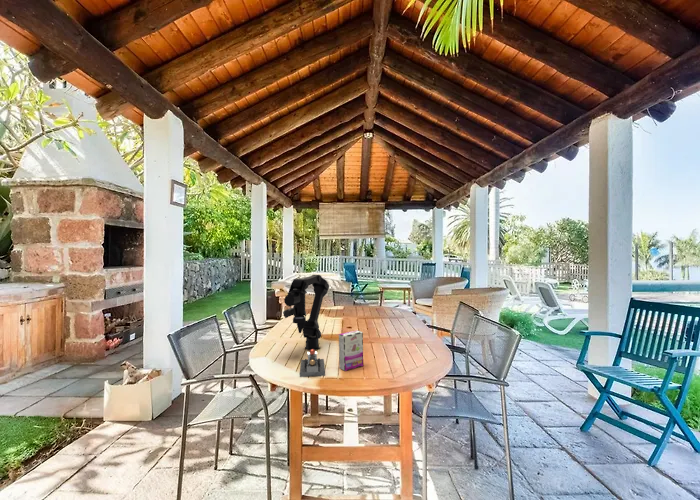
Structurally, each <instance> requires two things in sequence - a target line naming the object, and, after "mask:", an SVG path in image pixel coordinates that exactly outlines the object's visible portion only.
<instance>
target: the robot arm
mask: <svg viewBox="0 0 700 500" xmlns="http://www.w3.org/2000/svg"><path fill="white" fill-rule="evenodd" d="M309 286H312V287H313V292H314V298H313V302H312V306H311V310H310V313H309V318H308V319H306V316H307V311H306V294H307V293H308V291H307V289H309ZM329 288H330V284H329V282H328V281H327V280H326V279H325V278H324V277H323V276H322V275H320V274H312V275H310V276H307V277H305V278H294V279H292V282H291V285H290V286H289V289H288V292H287V295H285V297H284V299H283V302H284V304H285V306H287V307H290V308H288V309H284V310H283V312H282V314H283V316H284V318H285V319H287V318H290V317H291V316H293V318H292V324H296V325H297V330H298V333H299V334H301V333H302V335H303V338H304V339H305V338H306V339H305V346H304V349H306V350H309V351H310V350H311V349H314V350H315V351H316V350H319V349H321V346H319V345H320V343H319V342H320V340H319V339H321V338H322V332H321V330H320V325H319V322H318V320H319V316H320V312H321V309H322V304H323V300H324V297H325V296H326V295H327V293H328V290H329ZM292 306H293V307H292Z"/></svg>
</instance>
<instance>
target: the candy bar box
mask: <svg viewBox="0 0 700 500" xmlns="http://www.w3.org/2000/svg"><path fill="white" fill-rule="evenodd" d="M338 360H339V361H338V364H339V367H338V368H339V369H340V370H342V371H343V372H347V371H350V370H354V369H358V368H361V367H364V332H363V331H361V330H353V331H347V332H342V333H339V334H338Z"/></svg>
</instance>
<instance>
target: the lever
mask: <svg viewBox="0 0 700 500" xmlns="http://www.w3.org/2000/svg"><path fill="white" fill-rule="evenodd" d="M311 359H314V360H315V364H317V359H318V352H317V351H316V349H315V350H314V349H311V350H309V351H307V360H308V364H310V363H309V362H310V360H311Z"/></svg>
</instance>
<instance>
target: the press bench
mask: <svg viewBox="0 0 700 500" xmlns="http://www.w3.org/2000/svg"><path fill="white" fill-rule="evenodd" d="M309 363H310V364H308V358H305V359H300V367H299V377H301V378H302V377H303V378H305V377H323V376H326V370H325V368H326V367H325V360H324V358H318V357H317V364H315V360H314V359H311V360H310V362H309Z"/></svg>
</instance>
